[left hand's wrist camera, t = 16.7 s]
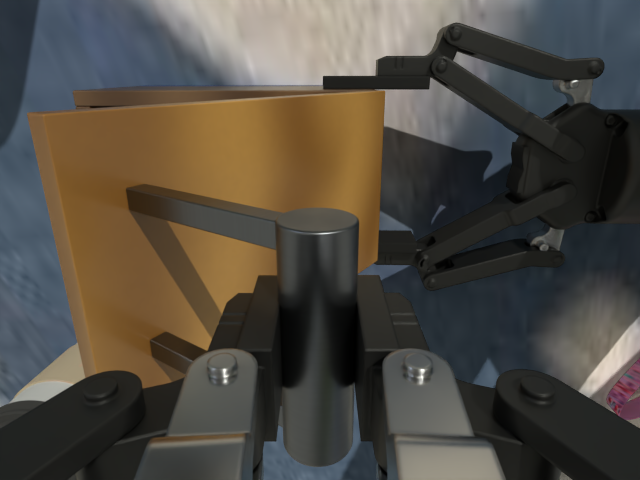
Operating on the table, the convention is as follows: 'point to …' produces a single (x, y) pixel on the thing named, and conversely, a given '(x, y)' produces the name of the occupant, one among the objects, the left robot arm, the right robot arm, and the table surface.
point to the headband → (626, 394)
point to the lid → (220, 237)
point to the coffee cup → (45, 386)
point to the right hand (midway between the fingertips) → (323, 166)
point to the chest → (189, 94)
